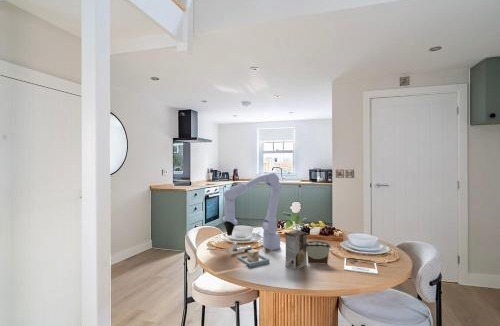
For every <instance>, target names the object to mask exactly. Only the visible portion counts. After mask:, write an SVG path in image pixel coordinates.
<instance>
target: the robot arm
mask: <svg viewBox="0 0 500 326" xmlns="http://www.w3.org/2000/svg"><path fill="white" fill-rule="evenodd" d="M260 183H265V184H266V185H268V186H269V188H270V189H271V191H270V194H269V195H270V196H269V201H268V207H267V211H266V216H265V217H264V220H263V222H262V224H261V227H262V229H263V233H262V235H263V236H262V237H263V239H262V240H263V243H262V245H263V246H262V247H263V248H264V249H268V250H270V251H274V250H280V249H282V247H281V236H280V233H279V232H278V219H277V213H278V207H279V201H280V197H281V196H280V195H281V190H282V186H281V184H280V183H281V182H280V178H279V176H278V175H277V174H276V173H275V172H268V171H266V172H264V173H261V174H259V175H256V176H255V177H253V178H251V179H250V180H249V181H247V182H238V183H237V184H235V185H234V186H230V188H227V189H225V191H224V192H223V197H224V216H222V221H224V222H223V225H224V227H225V231H226V234H227V236H232V235H233V232H234V228H235V226H236V225H238V222H239V221H238V220H237V219H236V201H235V200H236V198H237V197H239V196H240V195H241V196H242V195H243V194H244V193H246V192H247V191H248V189H249V188H251V187H253V186H255V185H257V184H260Z"/></svg>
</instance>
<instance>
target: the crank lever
mask: <svg viewBox="0 0 500 326" xmlns="http://www.w3.org/2000/svg"><path fill="white" fill-rule="evenodd" d="M237 246H238V242H237V241H233V242H232V247H233V251H240V250H245V249H251V248H253V247H252V245H246V247H241V248H237Z"/></svg>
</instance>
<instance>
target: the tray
mask: <svg viewBox="0 0 500 326" xmlns="http://www.w3.org/2000/svg"><path fill="white" fill-rule="evenodd" d="M259 258H260V259H261V260H257V261H254V262H252V261H249V260H246V259H247V254H242V255H237V259H238V260H239V261H241V262H242V263H245V266H246V267H248V268H249V269H251V268H255V267H259V266H264V265H268V264H270V262H271V261H270V258H268V257H265V256H264V255H261V254H260V253H259Z"/></svg>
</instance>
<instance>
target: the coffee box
mask: <svg viewBox="0 0 500 326" xmlns="http://www.w3.org/2000/svg"><path fill="white" fill-rule="evenodd" d="M307 242H308V241H307V232H305V231H302V230H293V231H290V232H286V233H285V267H287V268H289V269H292V270H295V271H296V270H298V269H301V268H303V267H305V266H306V265H307V263H308V256H307Z"/></svg>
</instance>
